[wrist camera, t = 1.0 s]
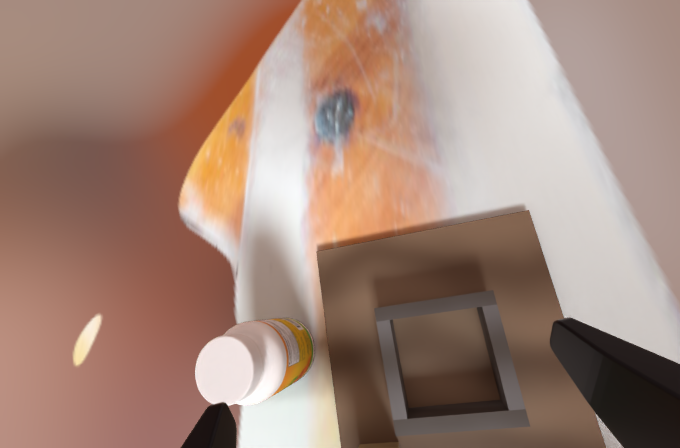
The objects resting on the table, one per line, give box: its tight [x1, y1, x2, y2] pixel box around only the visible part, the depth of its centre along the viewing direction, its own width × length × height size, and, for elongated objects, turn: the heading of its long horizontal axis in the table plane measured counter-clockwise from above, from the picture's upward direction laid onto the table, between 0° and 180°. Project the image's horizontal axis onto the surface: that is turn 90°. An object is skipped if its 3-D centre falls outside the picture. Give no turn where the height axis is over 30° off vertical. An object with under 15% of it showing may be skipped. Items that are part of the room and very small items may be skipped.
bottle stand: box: [317, 210, 606, 448], centre depth 22 cm, size 20×18×7 cm
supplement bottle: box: [195, 318, 315, 406], centre depth 24 cm, size 5×5×10 cm
